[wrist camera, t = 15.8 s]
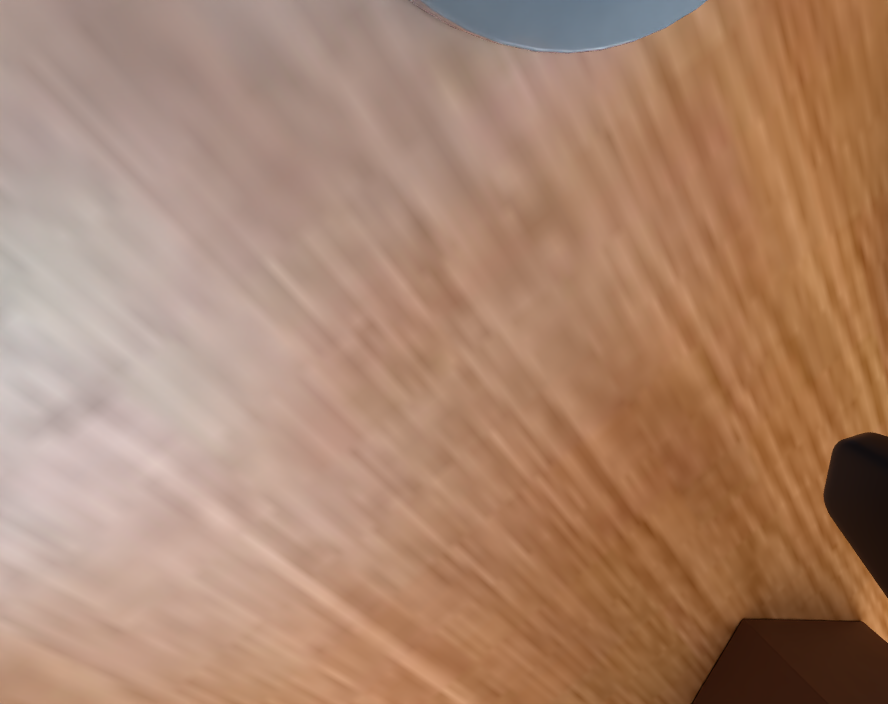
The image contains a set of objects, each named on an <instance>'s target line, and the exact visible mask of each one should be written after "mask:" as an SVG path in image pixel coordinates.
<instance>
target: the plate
mask: <svg viewBox="0 0 888 704" xmlns="http://www.w3.org/2000/svg"><path fill="white" fill-rule="evenodd" d="M410 1H411V2H412V3H414V4H415V5H416V6H417V7H419V8H420V9H422V10H424V11H425V12H427V13H429V14H431V15H432V16H434V17H436V18H437V19H439V20H441V21H443V22H444V23H446V24H448V25H450V26H451V27H453V28H456V29H459V30H461V31H464V32H466V33H469V34H471V35H474V36H476V37H479V38H481V39H484V40H487V41H491V42H495V43H499V44H503V45H507V46H512V47H516V48H521V49H525V50H529V51H534V52H549V53H566V54H569V53H579V52H589V51H598V50H604V49H608V48H611V47H615V46H619V45H623V44H627V43H630V42H634V41H636V40H638V39H641V38H643V37H646V36H648V35H650V34H653V33H655V32H657V31H660V30H662V29H664V28H666V27H668V26H669V25H671V24H673V23H674V22H676V21H678V20H679V19H681V18H683V17H684V16H686V15H688V14H689V13H691V12H693V11H694V10H696V9H697V8H698V7H700V6H701V5H702V4H703V3H705V2H706V1H707V0H410Z"/></svg>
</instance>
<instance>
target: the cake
mask: <svg viewBox="0 0 888 704" xmlns="http://www.w3.org/2000/svg"><path fill="white" fill-rule="evenodd" d="M692 704H888V643H887V642H886V641H885V640H883V639H882V638H881V637H880V636H879V635H878V634H876V633H875V632H874V631H873V630H872V629H871V628H869V627H868V626H867V625H866V624H865V623H864V622H857V621H809V620H760V619H743V620H742V622H741V623H740V625H739V627H738V628H737V630H736V632H735V633H734V635H733V637H732V638H731V640H730V642H729V643H728V645H727V647H726V648H725V650H724V652H723V653H722V655H721V657H720V658H719V660H718V662H717V663H716V665H715V667H714V668H713V670H712V672H711V673H710V675H709V677H708V678H707V680H706V682H705V683H704V685H703V687H702V688H701V690H700V692H699V693H698V695H697V697H696V698H695V700H694V702H693V703H692Z"/></svg>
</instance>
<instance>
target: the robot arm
mask: <svg viewBox="0 0 888 704" xmlns="http://www.w3.org/2000/svg"><path fill="white" fill-rule="evenodd" d="M824 502H825V505H826V508H827V510H828V513H829V514H830V516H831V518H832V519H833V520H834V522H835V523H836V525H837V526H838V528H839V529H840V531H841V532H842V533H843V535H844V536H845V538H846V539H847V541H848V542H849V543H850V545H851V546H852V548H853V549H854V551H855V552H856V553H857V555H858V556H859V558H860V559H861V561H862V562H863V563H864V565H865V566H866V568H867V569H868V571H869V572H870V573H871V575H872V576H873V578H874V579H875V581H876V582H877V583H878V585H879V586H880V588H881V589H882V591H883V592H884V593H885V595H886V596H887V598H888V437H887V436H884V435H881V434H877V433H871V432H870V433H863V434H859V435H856V436H853V437H850V438H846V439H843V440H841V441H839V442H838V443H837V444H836V445H835V447H834V449H833V451H832V456H831V461H830V465H829V470H828V475H827V479H826V484H825V489H824Z"/></svg>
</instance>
